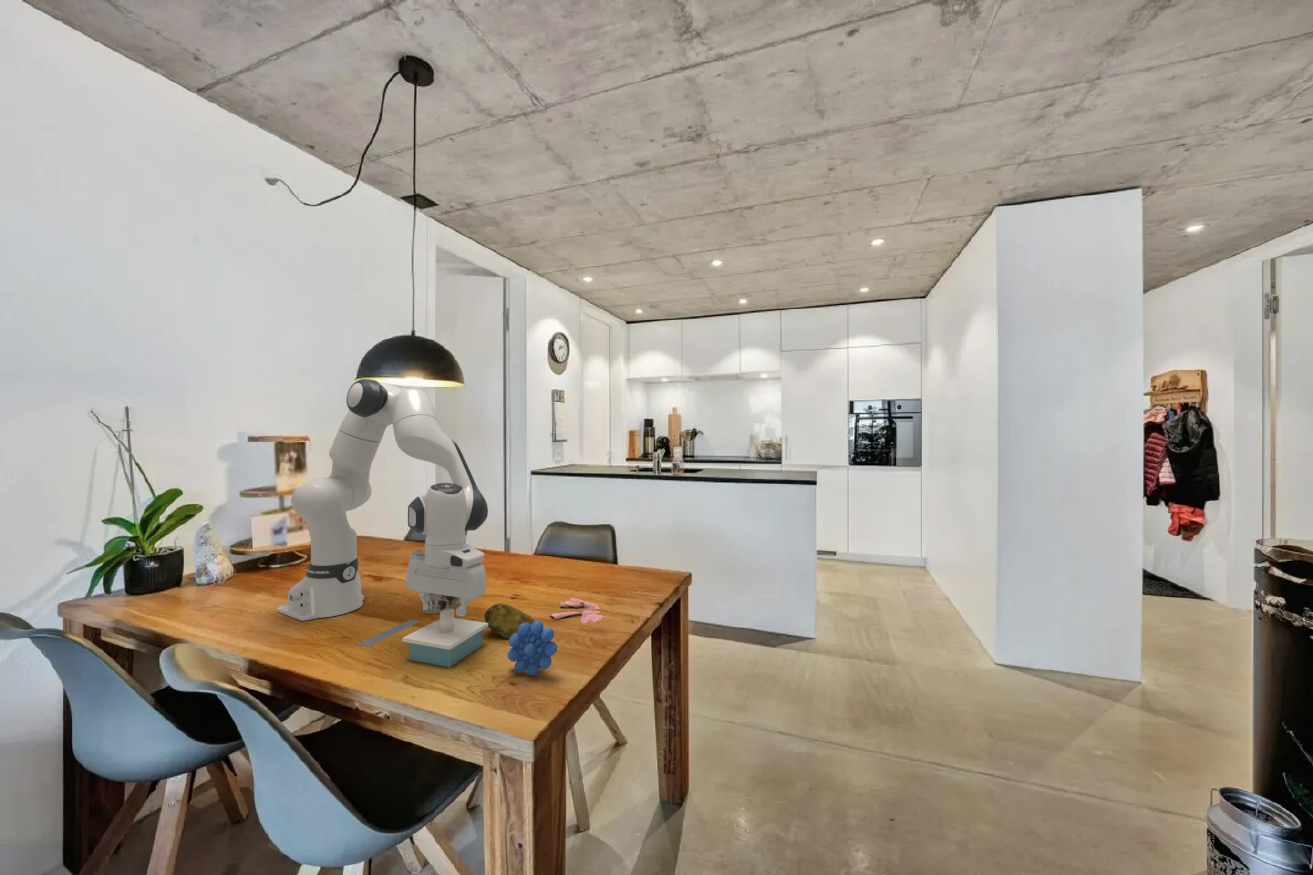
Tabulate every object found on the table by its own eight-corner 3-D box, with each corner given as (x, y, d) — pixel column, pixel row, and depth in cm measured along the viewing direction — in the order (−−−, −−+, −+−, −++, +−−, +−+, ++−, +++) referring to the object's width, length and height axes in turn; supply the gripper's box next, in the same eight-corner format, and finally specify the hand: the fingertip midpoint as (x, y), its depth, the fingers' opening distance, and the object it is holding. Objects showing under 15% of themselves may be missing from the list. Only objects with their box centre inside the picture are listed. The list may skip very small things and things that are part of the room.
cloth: (604, 628, 126) (604, 619, 126) (524, 626, 127) (525, 617, 127) (613, 601, 147) (613, 593, 147) (544, 599, 147) (545, 592, 147)
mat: (357, 645, 113) (357, 644, 113) (409, 620, 128) (409, 619, 128) (409, 655, 108) (409, 653, 108) (457, 628, 124) (457, 626, 124)
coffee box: (441, 615, 132) (442, 559, 132) (422, 613, 133) (422, 557, 133) (461, 604, 141) (461, 551, 141) (442, 602, 142) (443, 550, 142)
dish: (409, 662, 105) (409, 640, 105) (444, 641, 116) (444, 621, 116) (449, 669, 102) (449, 647, 102) (482, 647, 112) (482, 627, 112)
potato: (519, 648, 113) (519, 615, 113) (478, 638, 118) (478, 607, 118) (540, 634, 120) (541, 603, 120) (501, 626, 125) (501, 596, 125)
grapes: (565, 669, 102) (566, 615, 102) (551, 685, 96) (551, 627, 96) (518, 662, 105) (519, 609, 105) (501, 677, 99) (501, 621, 99)
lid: (402, 641, 104) (402, 617, 104) (444, 619, 117) (444, 598, 117) (449, 649, 101) (449, 625, 101) (488, 626, 113) (488, 604, 113)
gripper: (399, 552, 109) (398, 611, 109) (472, 561, 102) (471, 623, 102) (420, 546, 115) (419, 601, 115) (490, 554, 108) (489, 613, 108)
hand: (444, 612), depth 108 cm, fingers open, 8 cm apart
